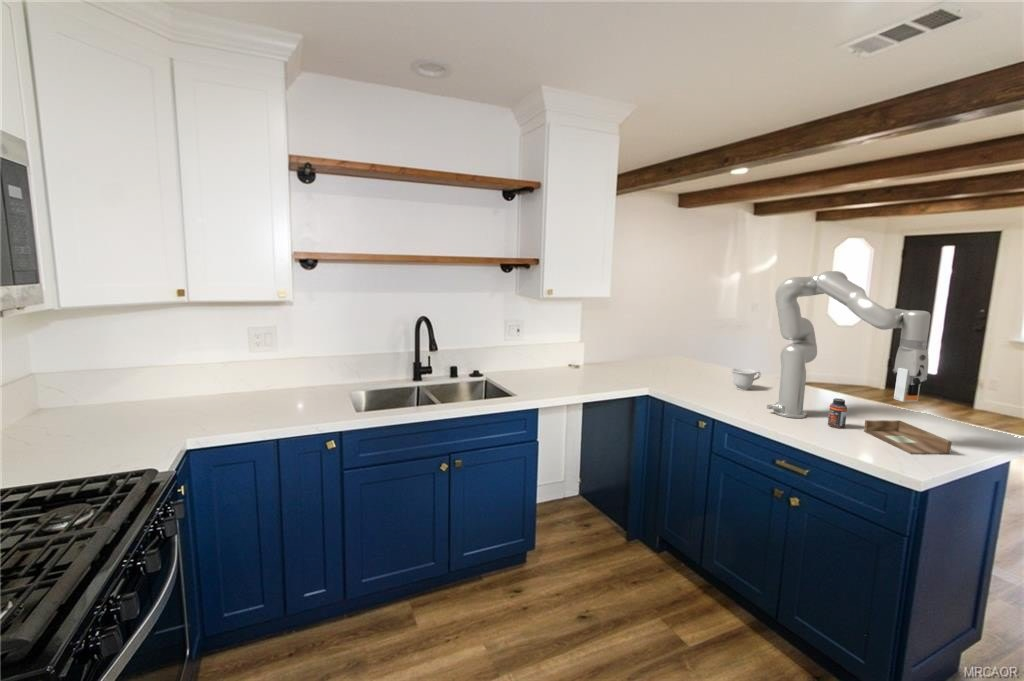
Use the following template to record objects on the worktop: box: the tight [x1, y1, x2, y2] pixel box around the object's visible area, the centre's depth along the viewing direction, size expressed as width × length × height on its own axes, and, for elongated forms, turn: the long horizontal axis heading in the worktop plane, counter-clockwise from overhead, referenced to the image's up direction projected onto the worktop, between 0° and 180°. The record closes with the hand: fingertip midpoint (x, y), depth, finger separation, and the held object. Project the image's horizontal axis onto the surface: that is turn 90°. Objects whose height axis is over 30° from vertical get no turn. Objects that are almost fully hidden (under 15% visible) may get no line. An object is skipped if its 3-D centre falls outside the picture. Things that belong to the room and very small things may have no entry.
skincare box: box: [893, 368, 921, 403], centre depth 176 cm, size 6×4×12 cm
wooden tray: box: [863, 419, 953, 455], centre depth 178 cm, size 14×23×5 cm, turn 179°
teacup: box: [731, 367, 762, 391], centre depth 254 cm, size 12×15×10 cm
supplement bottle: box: [827, 398, 848, 429], centre depth 195 cm, size 6×6×11 cm
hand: (906, 392), depth 177 cm, fingers closed on skincare box, 4 cm apart
